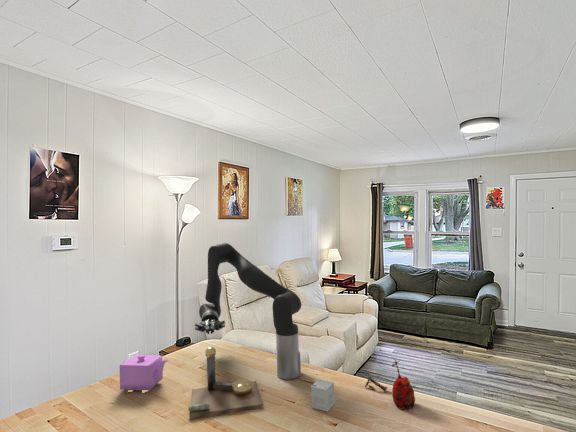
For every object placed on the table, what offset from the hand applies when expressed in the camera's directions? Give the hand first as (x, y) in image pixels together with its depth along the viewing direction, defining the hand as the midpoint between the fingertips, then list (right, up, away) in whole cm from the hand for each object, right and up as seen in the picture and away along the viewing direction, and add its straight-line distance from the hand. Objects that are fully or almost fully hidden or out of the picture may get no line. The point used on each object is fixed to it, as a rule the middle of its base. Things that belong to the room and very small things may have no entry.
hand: (210, 331), depth 139 cm
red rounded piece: (+70, -17, -23) cm, 76 cm away
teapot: (-24, -21, -4) cm, 32 cm away
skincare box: (+43, -18, -22) cm, 52 cm away
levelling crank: (+9, -18, -12) cm, 23 cm away
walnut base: (+9, -19, -16) cm, 27 cm away
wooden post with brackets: (+64, -18, -12) cm, 67 cm away
